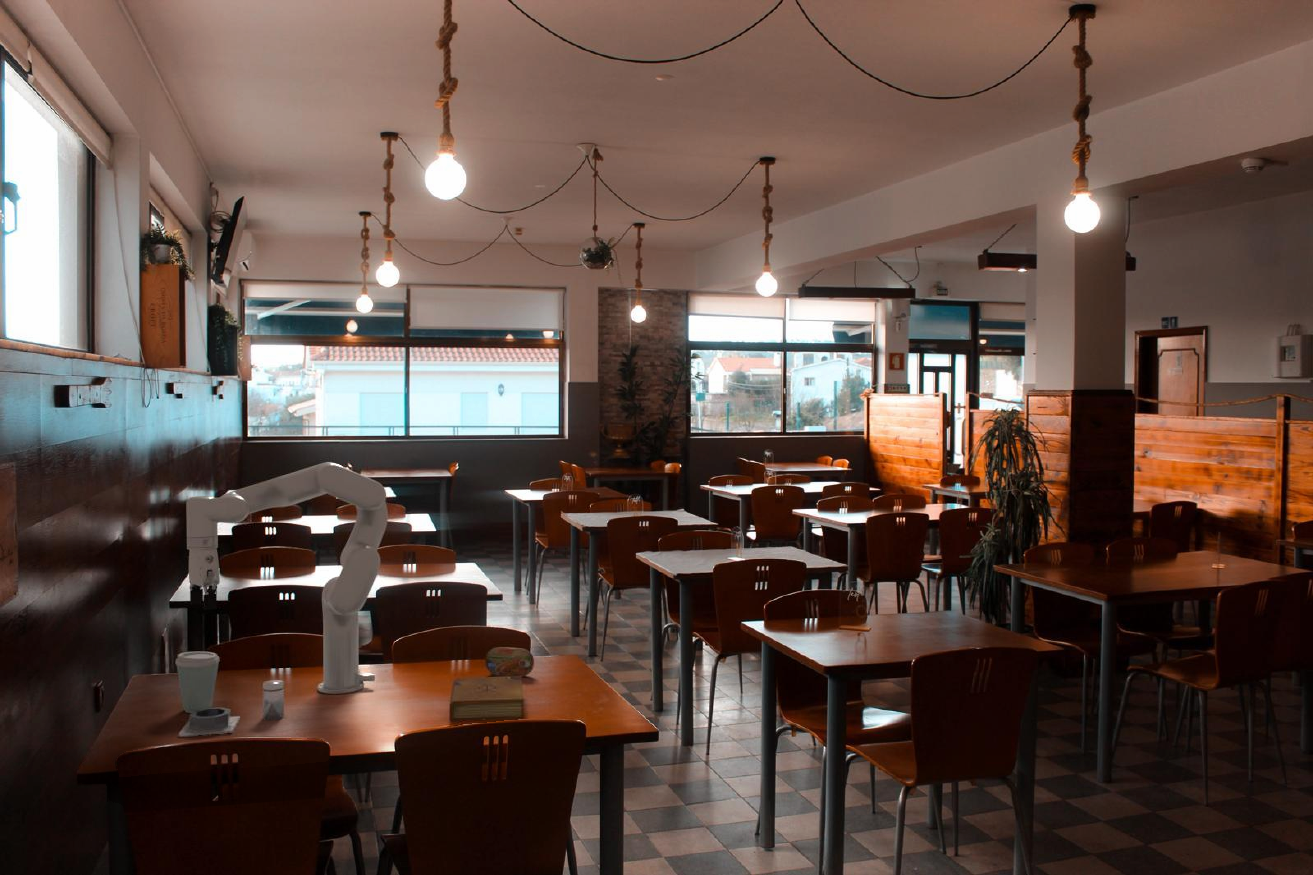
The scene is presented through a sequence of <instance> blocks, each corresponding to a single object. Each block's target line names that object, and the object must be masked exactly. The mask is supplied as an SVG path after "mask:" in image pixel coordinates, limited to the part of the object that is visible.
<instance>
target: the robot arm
mask: <svg viewBox="0 0 1313 875" xmlns="http://www.w3.org/2000/svg"><path fill="white" fill-rule="evenodd" d="M326 494H327V495H330V496H331V497H335V499H338V500H341V501H343V502H346V503H348V504H350V505H353V506H355V508H356V518H355V519H356V520H355V523H354V526H353V527H352V528H353V529H352V530H351V533H350V534H349V538H348V539H347V542H346V544H345V546H344V548H343V550H342V552H341V554H340V558H339V559H340V560H339V562H340V565H341V567H342V569H341V571H340V574H339V576H335V577H332V578H331V579H329V580H328V581H327V582H326V583H325V585H324V586H323V589H322V592H321V606H322V622H323V629H322V630H323V634H322V635H323V636H322V638H323V639H322V640H323V648H322V649H323V654H322V656H323V664H322V665H323V666H322V667H323V669H322V670H323V671H322V672H323V675H322V676H323V682H321V683H319V684H318V685H317V690H318V692H320V693H323V694H331V695H337V694H339V695H340V694H349V693H354V692H358V691H360V690H362V689H364V688H365V682H375V681H376V674H375V673H374V674H372V673H362V672H361V669H360V668H359V664H360V663H359V628H360V626H359V623H360V622H359V611H361V610H362V608H363V607H364V605H365V603H366V601H367V599H368V597H369V594H370V593H371V590H372V588H373V585H374V583H375V581H376V579H377V576H378V574H379V571H380V568H381V556H380V554H379V552H378V549H379V546H380V545H381V542H382V540H383V539H382V538H384V534H385V531H386V528H387V525H388V519H389V518H388V517H389V516H388V515H389V512H388V506H387V503H386V500H387V491H386V489H385V487H384V486H383V485H382V484H381V483H380V482H379V481H376V480H374V479H372V478H369V477H367V476H365V475H362V474H360V473H358V472H355V471H353V470H351V469H349V468H347V467H345V466H342V465H341V464H339V463H335V462H330V461H327V462H322V463H319V464H316V465H315V464H314V465H313V466H308V467H306V468H303V469H300V470H297V471H294V472H290V473H288V474H284V475H280V476H277V477H274V478H272V479H269V480H265V481H262V482H259V483H256V484H252V485H248V486H246V487H243V488H239V489H235V490H232V491H229V492H227V493H225V494H223V495H221V496H220V497H214V496H212V495H200V496H199V495H196V496H190V497H189V498H188V499H187V500H186V506H185V507H186V549H187V550H189V553H188V555H189V556H188V580H189V581H188V582H189V604H190V605H191V606H193V605H194V606H195V605H196V606H197V605H202V604H203V610H205V611H209V610H215V609H217V607H218V604H217V602H218V599H217V598H218V597H217V596H218V591H217V589H218V585H220V583H221V582H220V579H221V578H220V577H221V576H220V563H219V555H218V550H217V549H218V547H219V543H218V542H219V538H218V537H219V536H218V533H219V532H218V523H223V524H239V523H241V522H243V521H244V520H245V519H246V518H247V517H248V515H250V514H254V513H256V512H259V511H263V510H267V509H272V508H285V507H290V506H293V505H297V504H301V503H302V502H305V501H308V500H311V499H314V498H317V497H321V496H324V495H326Z"/></svg>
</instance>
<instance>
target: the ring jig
mask: <svg viewBox="0 0 1313 875" xmlns="http://www.w3.org/2000/svg"><path fill="white" fill-rule="evenodd" d="M231 711H232V709H231V708H226V707H221V706H220V707H219V706H218V707H211V708H204V709H201V710H197V711H193V712H192V713H190V714H189V719H188V721H187V722H186V724H185V725H184V726H183V727H182V729H181V730H180V731H179V733H178V737H179V738H182V737H184V738H185V737H198V735H203V736H212V735H211V734H220V735H224V734H223V733H227V732H230V733H231V732H233V733H234V731H235V730H236V728H237V726H238V724H239V722H240V721H241V716H239V715H238V716H232V715H231V714H232V712H231ZM239 720H240V721H239ZM237 723H238V724H237ZM234 729H235V730H234ZM205 734H206V735H205ZM207 734H209V735H207Z"/></svg>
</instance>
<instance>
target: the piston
mask: <svg viewBox="0 0 1313 875" xmlns="http://www.w3.org/2000/svg"><path fill="white" fill-rule="evenodd" d="M284 685H285V682H284V681H283V680H279V679H271V680H266V681H264V682H263V683H262V719H263V720H264V719H265V720H264V721H277V719H278V720H281V719H283V718H284V716H285V708H284V707H285V706H284V705H285V701H284V700H285V693H284V691H285V686H284Z"/></svg>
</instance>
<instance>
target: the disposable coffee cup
mask: <svg viewBox="0 0 1313 875" xmlns="http://www.w3.org/2000/svg"><path fill="white" fill-rule="evenodd" d="M220 660H221V659H220V656H218V654H217V653H215V652H211V651H199V650H198V651H185V652H181V653H179V654H177V658H176V659H175V665H176V669H177V676H178V682H179V688H180V695H181V696H180V697H181V702H182V707H183V709H184V711H185V713H190V714H191V713H192V712H193V711H197V710H201V709H204V708H212V705H213V700H214V694H215V687H216V682H217V675H218V670H219V664H220V663H219V662H220Z"/></svg>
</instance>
